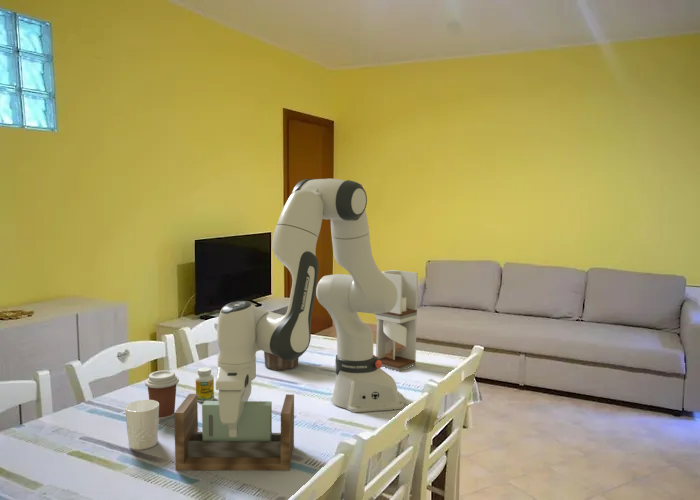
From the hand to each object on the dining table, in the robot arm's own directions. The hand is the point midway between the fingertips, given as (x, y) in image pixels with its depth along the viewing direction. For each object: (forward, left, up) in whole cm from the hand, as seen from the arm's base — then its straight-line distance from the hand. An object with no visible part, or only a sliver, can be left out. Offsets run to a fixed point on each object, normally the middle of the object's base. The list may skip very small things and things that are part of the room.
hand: (237, 427), depth 129 cm
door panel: (0, 0, -6) cm, 6 cm away
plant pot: (-3, -71, -8) cm, 72 cm away
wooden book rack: (0, 0, -8) cm, 8 cm away
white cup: (+25, -7, -8) cm, 27 cm away
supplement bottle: (+17, -37, -8) cm, 41 cm away
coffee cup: (+26, -25, -8) cm, 37 cm away
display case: (-45, -73, -8) cm, 86 cm away
